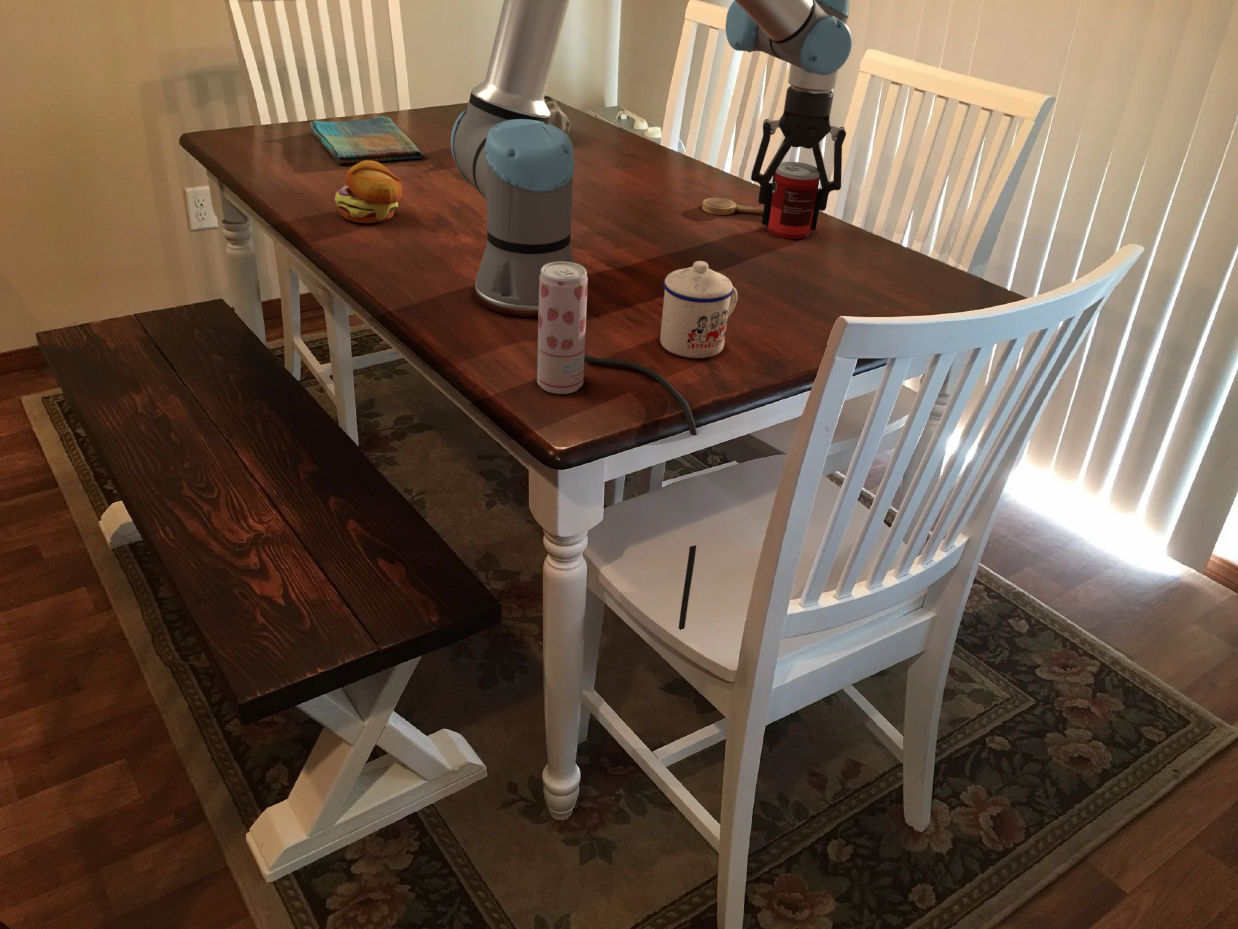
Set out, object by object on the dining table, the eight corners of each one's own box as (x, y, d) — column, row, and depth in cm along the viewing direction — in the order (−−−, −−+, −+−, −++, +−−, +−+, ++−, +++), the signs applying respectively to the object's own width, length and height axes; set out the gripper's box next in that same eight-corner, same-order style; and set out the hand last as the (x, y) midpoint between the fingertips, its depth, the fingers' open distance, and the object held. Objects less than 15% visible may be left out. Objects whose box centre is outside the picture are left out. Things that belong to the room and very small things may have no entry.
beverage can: (567, 400, 119) (571, 283, 111) (528, 386, 122) (529, 271, 113) (591, 381, 124) (597, 268, 115) (553, 368, 126) (556, 256, 117)
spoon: (796, 212, 181) (797, 205, 181) (796, 223, 176) (797, 216, 176) (703, 202, 183) (704, 195, 182) (701, 213, 178) (701, 206, 177)
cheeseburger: (363, 199, 172) (370, 145, 166) (410, 227, 170) (419, 174, 164) (321, 214, 165) (327, 158, 159) (370, 243, 162) (378, 188, 156)
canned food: (783, 220, 177) (792, 158, 171) (819, 233, 173) (830, 170, 167) (755, 229, 173) (764, 165, 167) (792, 243, 168) (803, 178, 162)
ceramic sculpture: (533, 103, 200) (512, 89, 211) (533, 147, 204) (512, 131, 216) (583, 102, 203) (559, 88, 215) (581, 145, 208) (558, 130, 219)
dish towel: (391, 126, 211) (390, 114, 210) (425, 159, 194) (424, 146, 192) (309, 132, 204) (307, 119, 203) (336, 166, 187) (335, 152, 186)
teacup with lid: (690, 366, 128) (699, 282, 122) (644, 340, 134) (651, 258, 128) (754, 344, 135) (766, 263, 129) (708, 319, 141) (717, 240, 134)
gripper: (874, 89, 162) (847, 224, 174) (747, 76, 163) (730, 211, 176) (877, 99, 155) (849, 239, 168) (745, 86, 157) (728, 225, 170)
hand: (788, 224), depth 172 cm, fingers closed on canned food, 8 cm apart
